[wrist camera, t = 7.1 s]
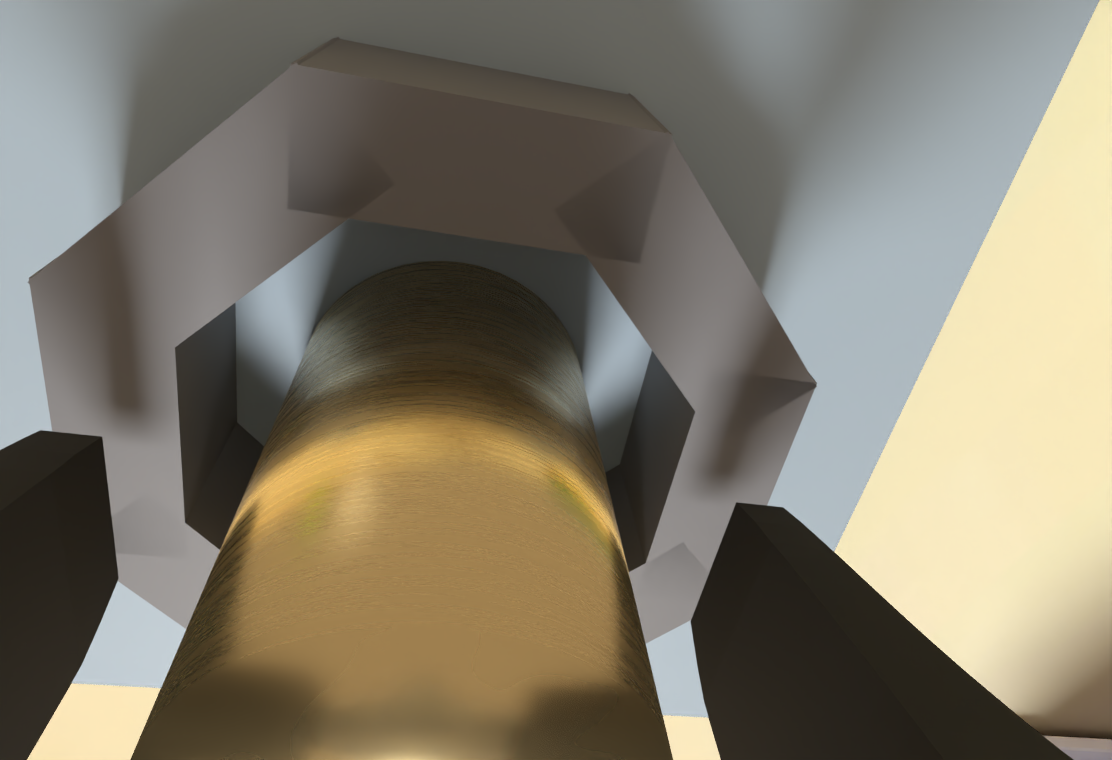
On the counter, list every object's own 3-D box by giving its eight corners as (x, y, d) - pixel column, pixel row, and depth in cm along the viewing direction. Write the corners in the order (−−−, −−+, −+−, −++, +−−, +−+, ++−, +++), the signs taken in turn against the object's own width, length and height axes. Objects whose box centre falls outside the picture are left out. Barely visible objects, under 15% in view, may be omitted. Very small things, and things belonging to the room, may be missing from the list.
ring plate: (1084, -78, 11) (1321, -87, 8) (740, 683, 18) (791, 829, 15) (-214, -412, 8) (-635, -629, 5) (14, 637, 16) (-99, 803, 13)
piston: (607, 283, 12) (742, 646, 6) (554, 509, 14) (611, 947, 8) (306, 240, 11) (95, 605, 5) (299, 486, 13) (146, 951, 7)
